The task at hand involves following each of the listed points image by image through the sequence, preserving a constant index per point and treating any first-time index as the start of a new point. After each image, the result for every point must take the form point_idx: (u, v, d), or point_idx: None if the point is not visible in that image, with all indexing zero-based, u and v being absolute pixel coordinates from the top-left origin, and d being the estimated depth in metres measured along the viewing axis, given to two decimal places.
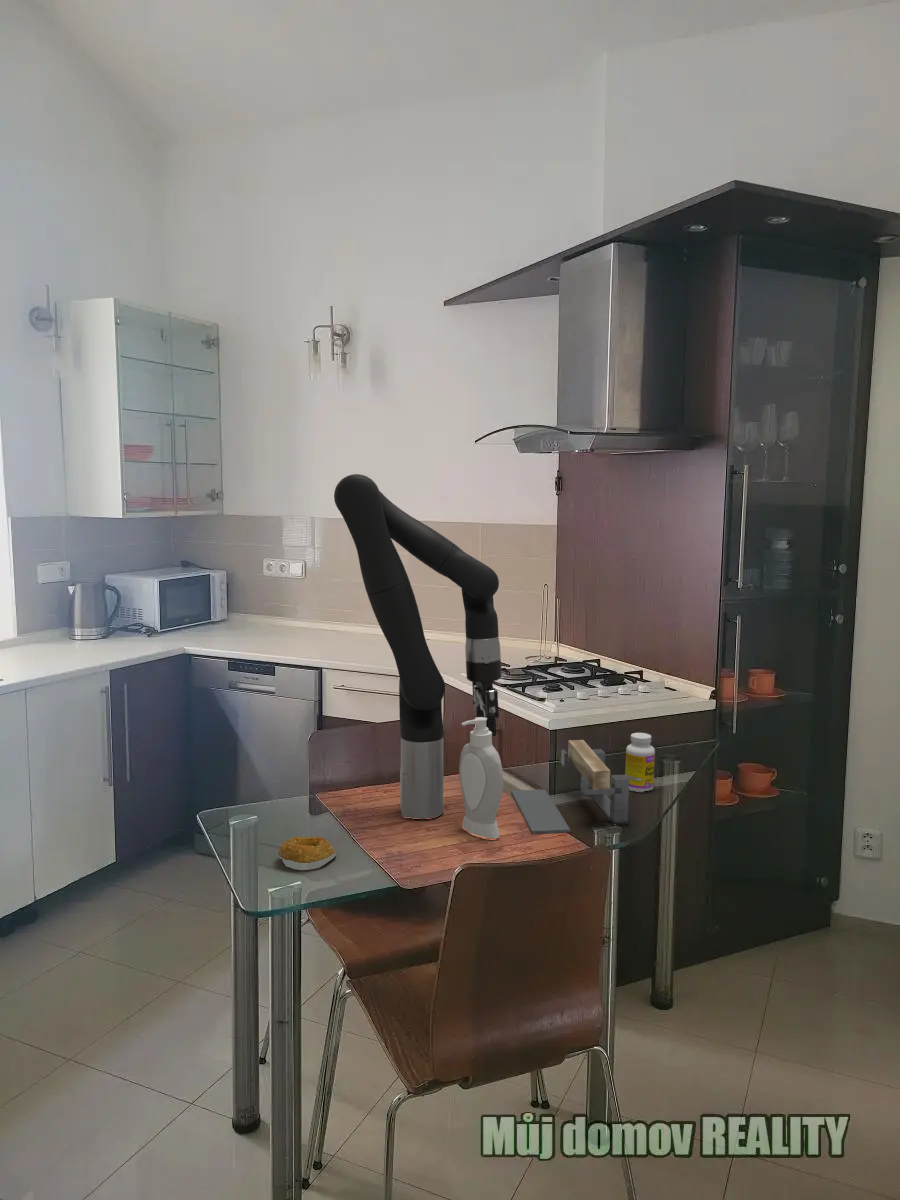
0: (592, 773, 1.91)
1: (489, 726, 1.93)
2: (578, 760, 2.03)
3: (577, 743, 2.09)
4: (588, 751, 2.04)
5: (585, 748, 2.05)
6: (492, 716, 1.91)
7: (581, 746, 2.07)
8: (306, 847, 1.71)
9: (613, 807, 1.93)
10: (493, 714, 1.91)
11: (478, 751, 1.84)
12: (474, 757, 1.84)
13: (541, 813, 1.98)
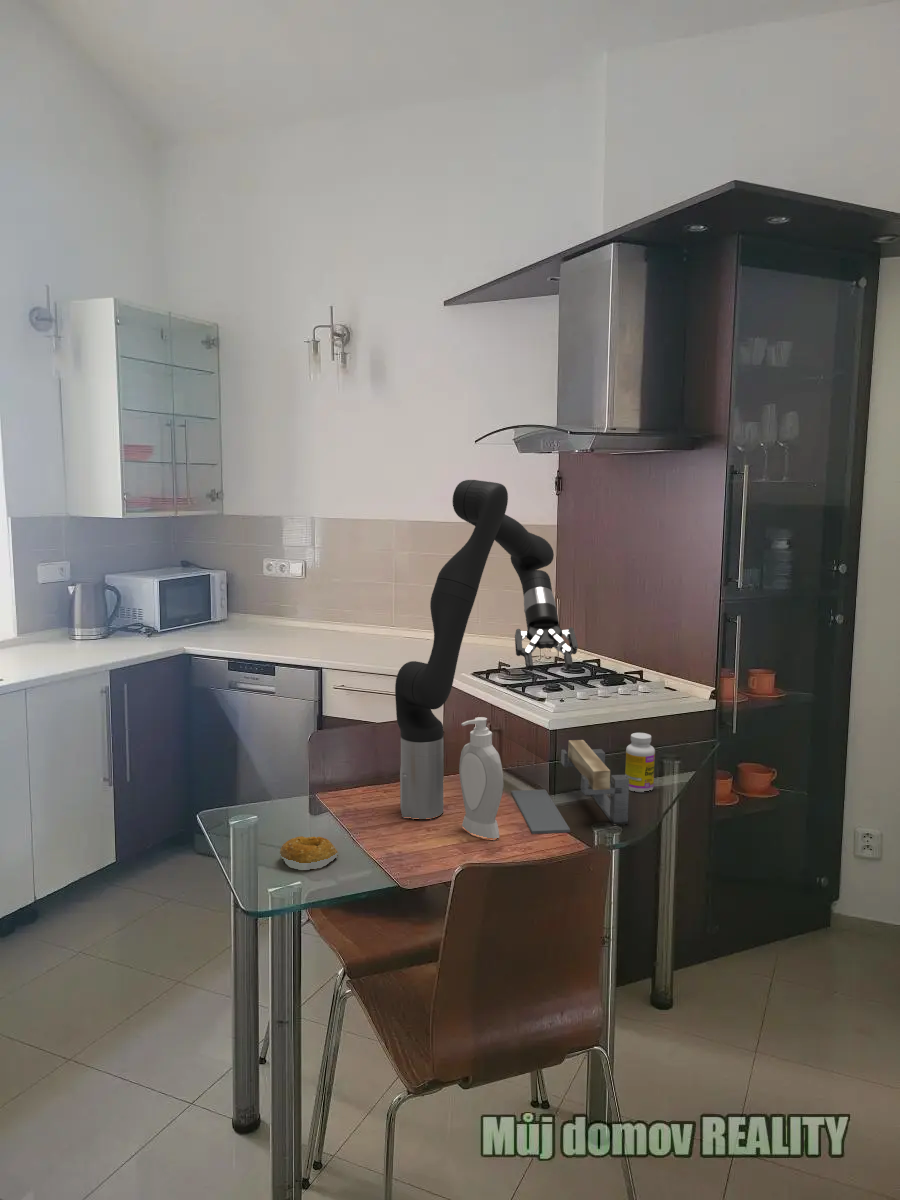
0: (592, 773, 1.91)
1: (571, 657, 2.10)
2: (578, 760, 2.03)
3: (577, 743, 2.09)
4: (588, 751, 2.04)
5: (585, 748, 2.05)
6: None
7: (581, 746, 2.07)
8: (308, 847, 1.71)
9: (613, 807, 1.93)
10: None
11: (478, 751, 1.84)
12: (474, 757, 1.84)
13: (541, 813, 1.98)
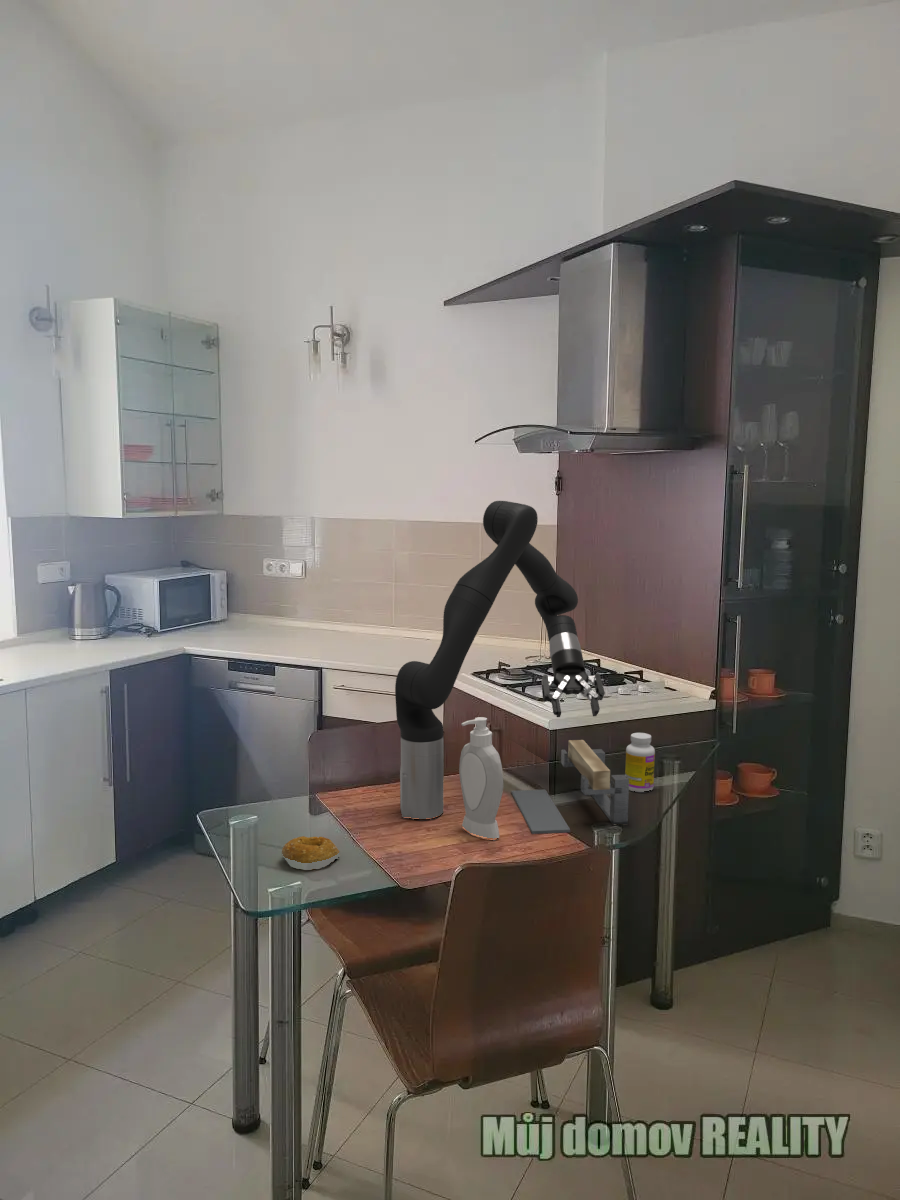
0: (592, 773, 1.91)
1: None
2: (578, 760, 2.03)
3: (577, 743, 2.09)
4: (588, 751, 2.04)
5: (585, 748, 2.05)
6: None
7: (581, 746, 2.07)
8: (310, 847, 1.71)
9: (613, 807, 1.93)
10: None
11: (478, 751, 1.84)
12: (474, 757, 1.84)
13: (541, 813, 1.98)
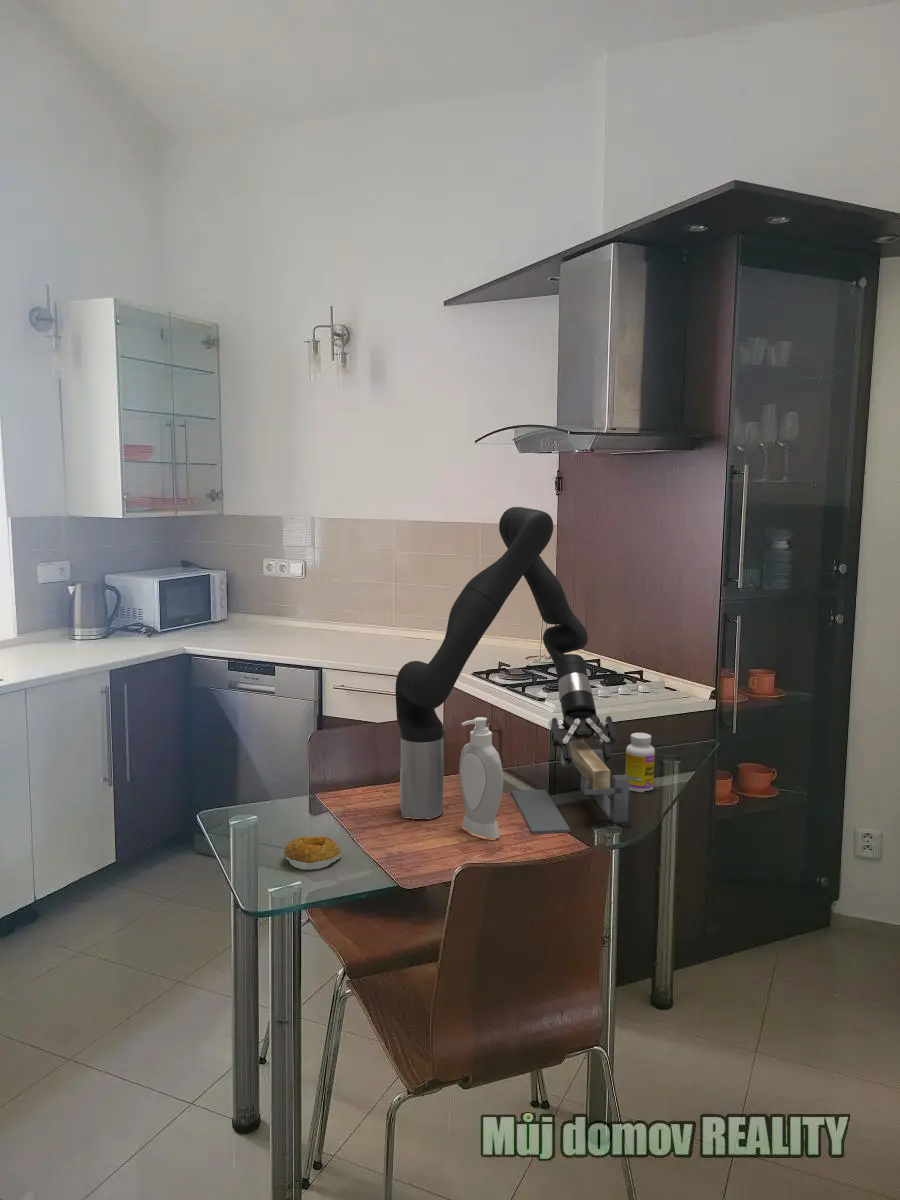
0: (592, 773, 1.91)
1: None
2: (578, 760, 2.03)
3: (577, 743, 2.09)
4: (588, 751, 2.04)
5: (585, 748, 2.05)
6: None
7: (581, 746, 2.07)
8: (312, 847, 1.72)
9: (613, 807, 1.93)
10: None
11: (478, 751, 1.84)
12: (474, 757, 1.84)
13: (541, 813, 1.98)
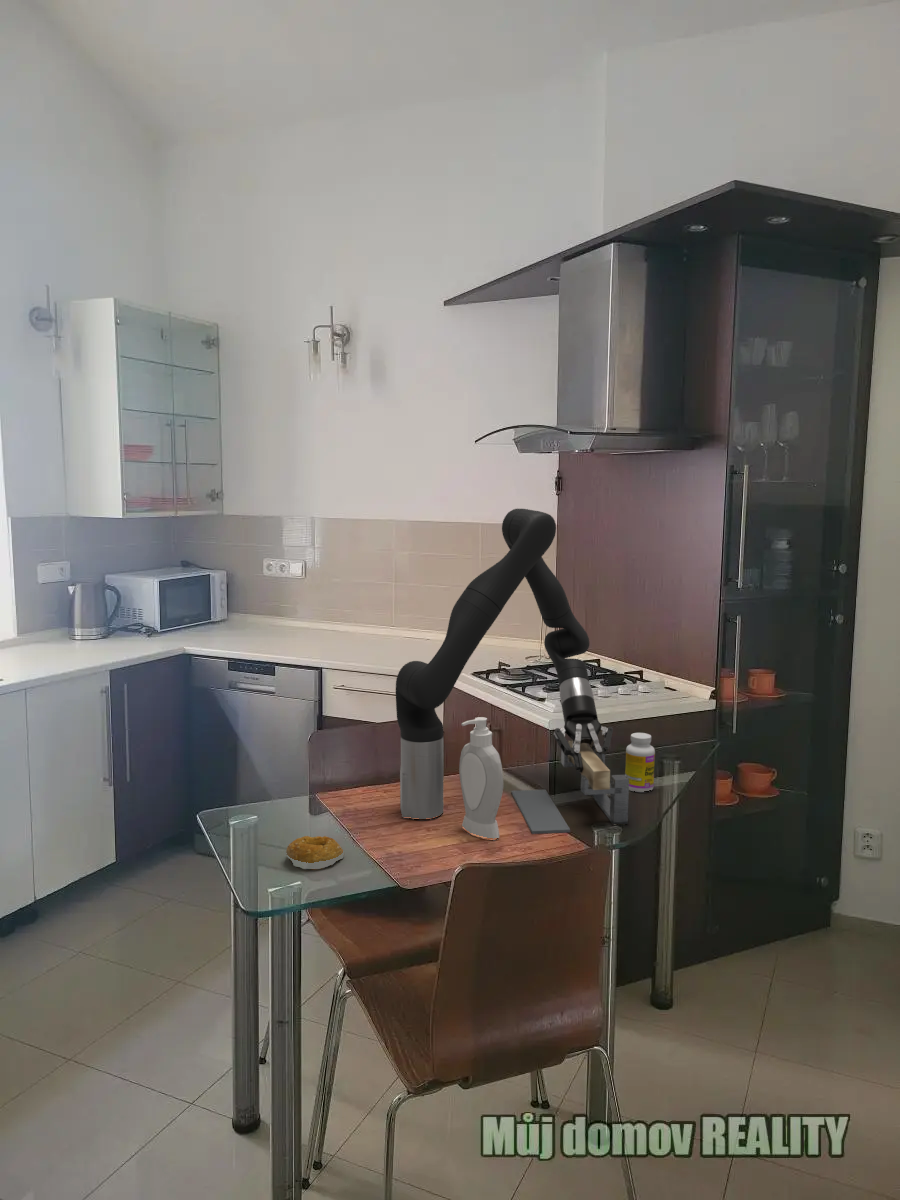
0: (592, 773, 1.91)
1: None
2: None
3: None
4: (588, 751, 2.04)
5: (585, 748, 2.05)
6: (607, 750, 2.03)
7: (581, 746, 2.07)
8: (315, 846, 1.72)
9: (613, 807, 1.93)
10: None
11: (478, 751, 1.84)
12: (474, 757, 1.84)
13: (541, 813, 1.98)
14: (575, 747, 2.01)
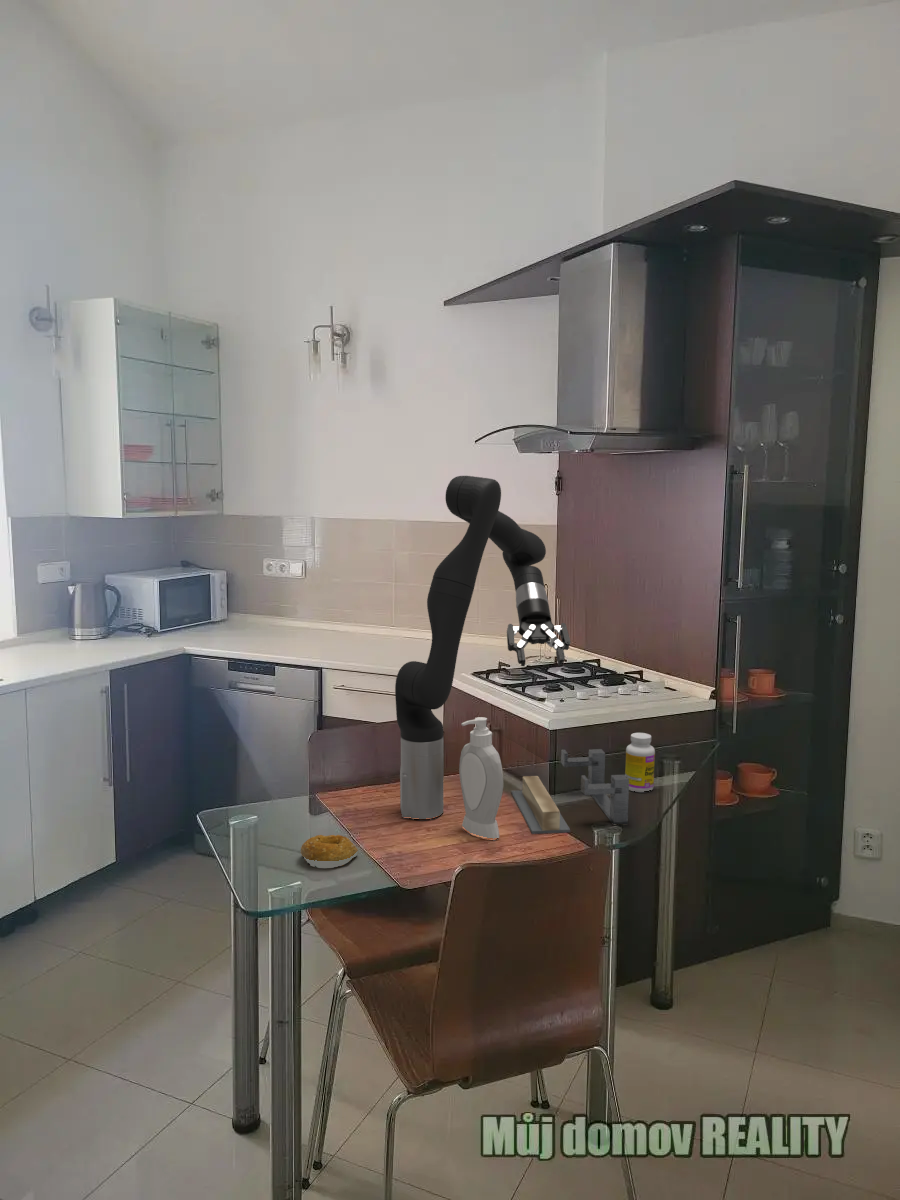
0: (541, 813, 1.89)
1: None
2: (530, 798, 2.01)
3: (531, 779, 2.07)
4: (541, 788, 2.02)
5: (538, 785, 2.03)
6: None
7: (534, 784, 2.05)
8: (330, 845, 1.72)
9: (613, 807, 1.93)
10: None
11: (478, 751, 1.84)
12: (474, 757, 1.84)
13: None
14: (519, 642, 2.09)
